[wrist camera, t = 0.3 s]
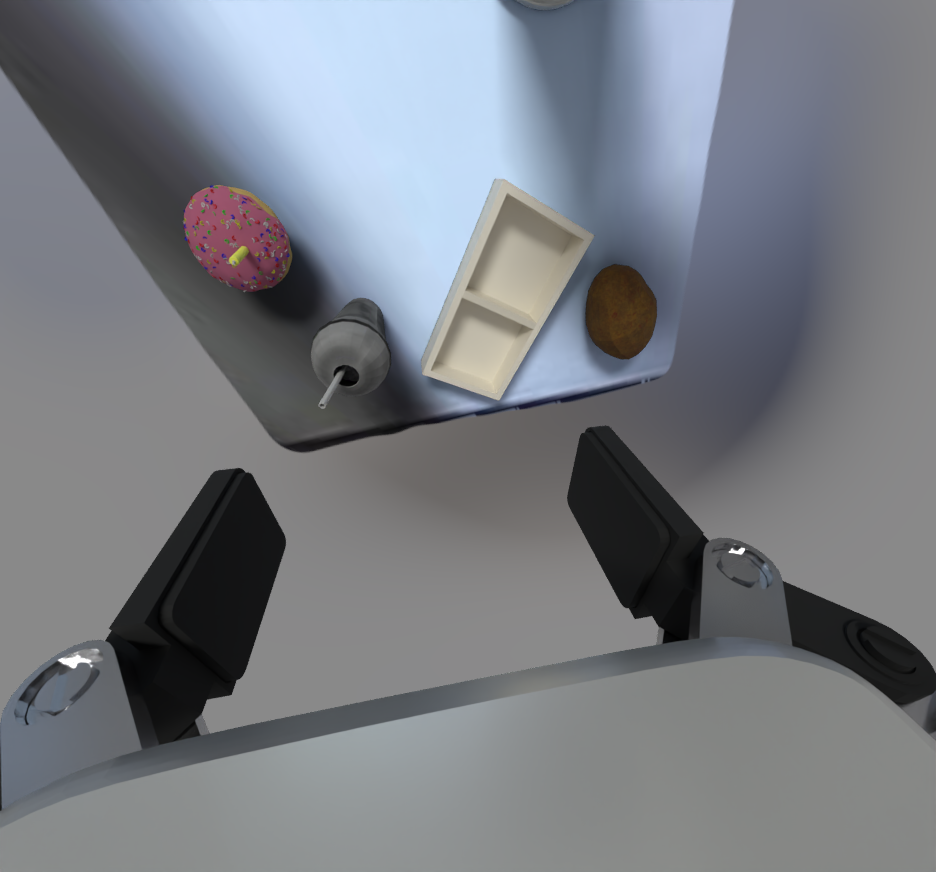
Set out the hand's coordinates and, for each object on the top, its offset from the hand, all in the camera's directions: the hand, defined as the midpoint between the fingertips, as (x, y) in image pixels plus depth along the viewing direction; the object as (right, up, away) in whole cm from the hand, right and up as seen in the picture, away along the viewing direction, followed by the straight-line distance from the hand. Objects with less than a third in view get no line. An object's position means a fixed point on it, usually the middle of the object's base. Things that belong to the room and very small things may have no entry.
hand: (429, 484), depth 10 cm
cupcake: (-21, +22, +25) cm, 39 cm away
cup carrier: (+4, +18, +32) cm, 37 cm away
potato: (+20, +19, +35) cm, 44 cm away
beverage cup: (-12, +16, +31) cm, 37 cm away
